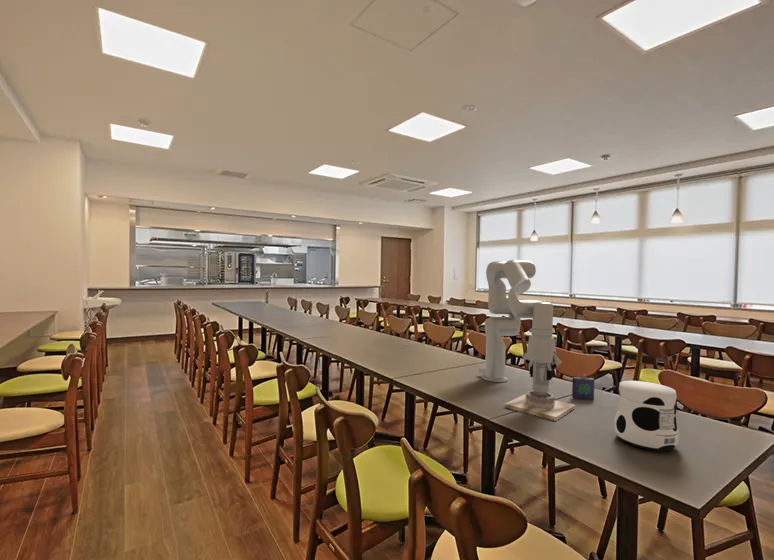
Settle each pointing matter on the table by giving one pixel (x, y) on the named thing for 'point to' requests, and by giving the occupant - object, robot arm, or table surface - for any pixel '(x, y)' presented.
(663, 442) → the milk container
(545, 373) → the energy drink can
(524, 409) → the collar board
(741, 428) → the table surface
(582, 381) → the flask
